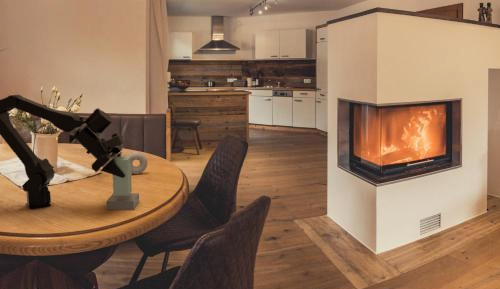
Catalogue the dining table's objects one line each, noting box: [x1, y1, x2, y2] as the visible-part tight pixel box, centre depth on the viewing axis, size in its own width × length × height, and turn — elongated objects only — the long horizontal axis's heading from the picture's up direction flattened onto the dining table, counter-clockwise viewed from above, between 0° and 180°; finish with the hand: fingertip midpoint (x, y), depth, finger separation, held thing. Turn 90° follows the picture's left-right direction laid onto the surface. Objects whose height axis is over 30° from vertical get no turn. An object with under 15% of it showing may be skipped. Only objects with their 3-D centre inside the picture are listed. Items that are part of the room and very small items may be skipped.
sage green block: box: [112, 156, 133, 196], centre depth 141 cm, size 5×5×12 cm
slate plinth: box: [105, 192, 140, 211], centre depth 142 cm, size 9×9×3 cm
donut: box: [126, 151, 148, 175], centre depth 184 cm, size 10×4×10 cm, turn 109°
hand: (126, 174), depth 141 cm, fingers closed on sage green block, 5 cm apart
